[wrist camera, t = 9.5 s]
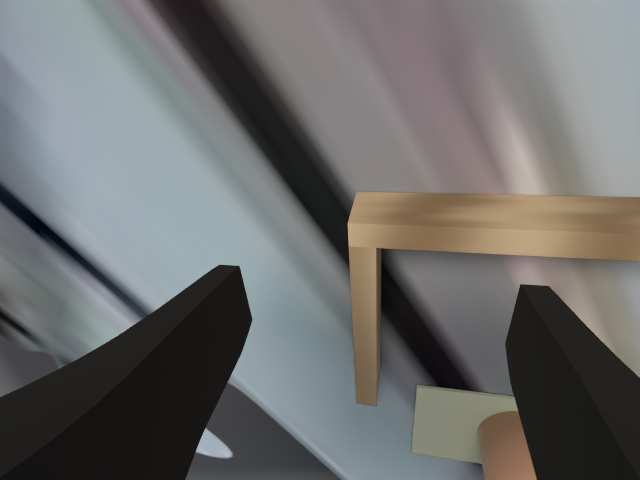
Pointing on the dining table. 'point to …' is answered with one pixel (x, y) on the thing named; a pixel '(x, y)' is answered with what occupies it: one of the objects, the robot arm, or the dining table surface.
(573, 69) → the dining table surface
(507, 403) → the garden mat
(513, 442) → the terracotta pot
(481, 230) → the tan wooden bent bar
